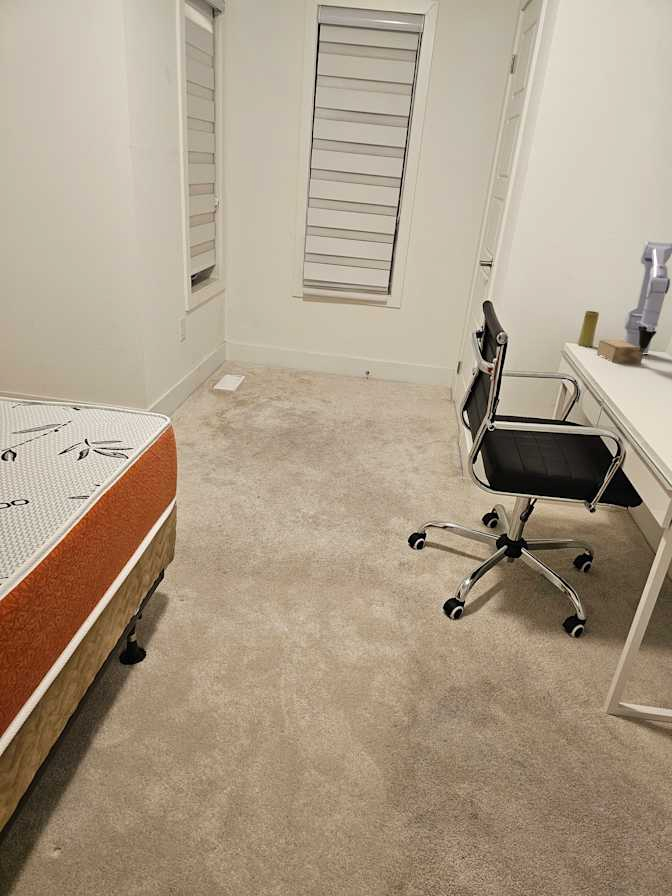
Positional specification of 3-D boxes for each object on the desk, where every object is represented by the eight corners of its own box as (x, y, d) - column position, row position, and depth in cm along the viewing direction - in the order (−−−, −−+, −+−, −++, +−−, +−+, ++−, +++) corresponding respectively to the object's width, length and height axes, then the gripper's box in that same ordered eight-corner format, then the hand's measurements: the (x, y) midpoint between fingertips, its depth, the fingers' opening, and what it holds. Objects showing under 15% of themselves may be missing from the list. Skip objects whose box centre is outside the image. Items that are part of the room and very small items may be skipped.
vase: (595, 347, 260) (603, 313, 254) (583, 347, 258) (591, 313, 253) (586, 343, 265) (593, 310, 260) (574, 343, 264) (581, 310, 258)
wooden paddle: (640, 364, 234) (647, 336, 230) (641, 365, 233) (648, 337, 228) (612, 361, 236) (619, 334, 232) (613, 362, 234) (620, 335, 230)
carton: (618, 355, 248) (622, 340, 246) (635, 362, 238) (638, 347, 236) (596, 354, 247) (599, 340, 244) (611, 361, 237) (615, 346, 234)
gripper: (638, 306, 232) (629, 341, 237) (642, 312, 219) (632, 349, 225) (658, 308, 230) (649, 344, 235) (663, 315, 217) (653, 352, 223)
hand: (642, 347), depth 230 cm, fingers open, 3 cm apart
